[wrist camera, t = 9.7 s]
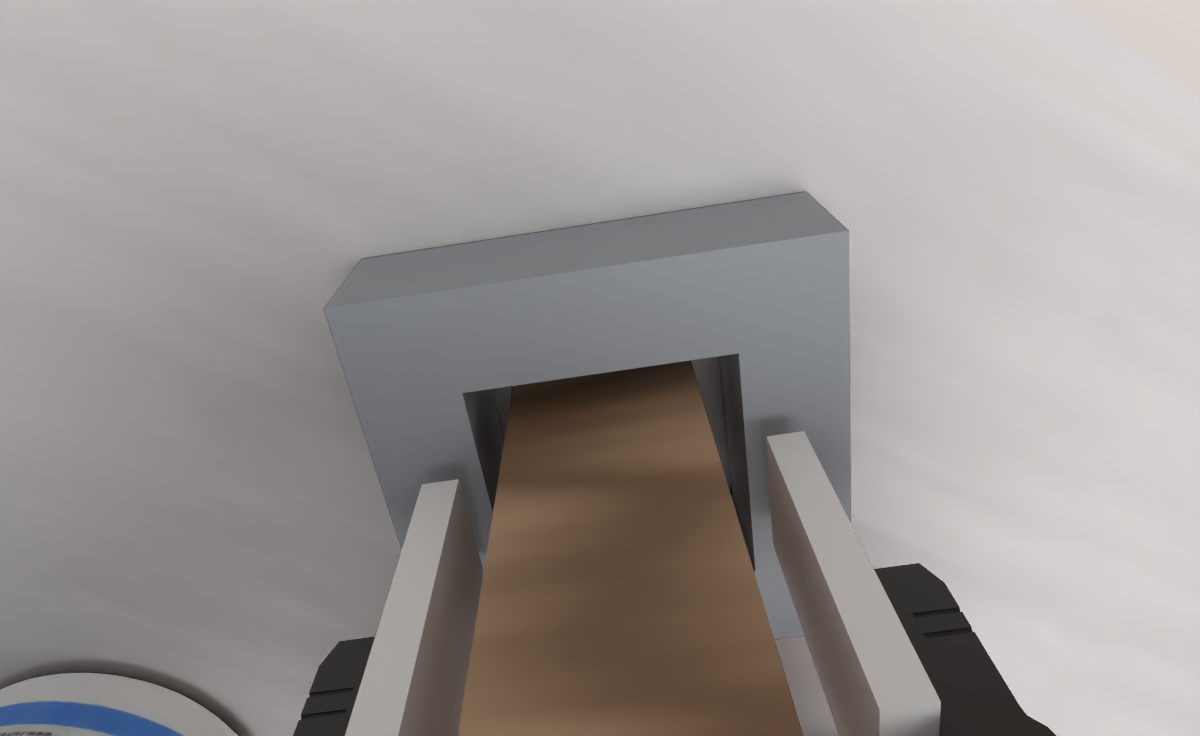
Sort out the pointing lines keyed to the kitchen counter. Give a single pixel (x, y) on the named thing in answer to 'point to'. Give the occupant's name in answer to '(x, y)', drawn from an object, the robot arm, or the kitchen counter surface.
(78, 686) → the supplement tub
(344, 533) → the kitchen counter surface
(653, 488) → the peg
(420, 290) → the socket block
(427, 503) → the robot arm
